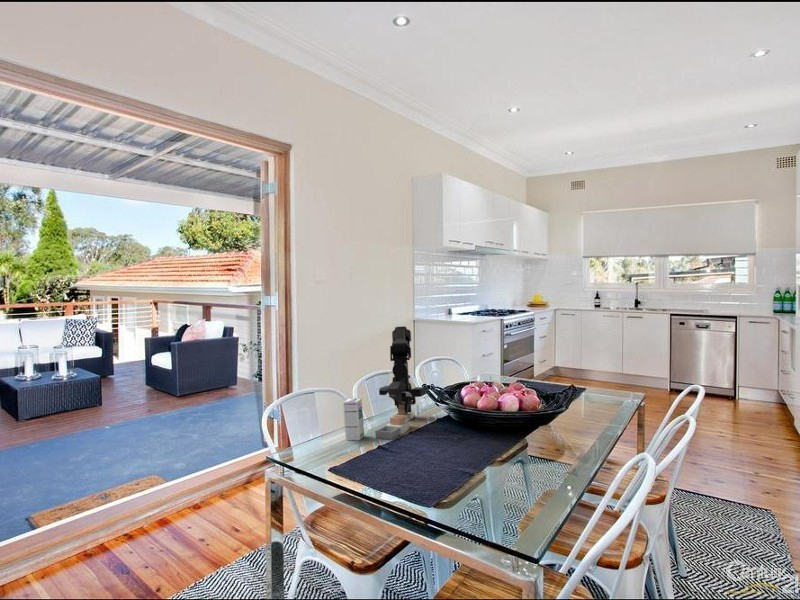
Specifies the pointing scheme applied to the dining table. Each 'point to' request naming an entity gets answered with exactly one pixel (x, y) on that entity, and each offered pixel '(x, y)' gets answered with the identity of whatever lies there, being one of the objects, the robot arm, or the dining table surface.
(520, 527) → the dining table surface
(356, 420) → the syrup box
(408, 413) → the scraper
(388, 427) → the deck
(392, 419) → the tile
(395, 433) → the tray
